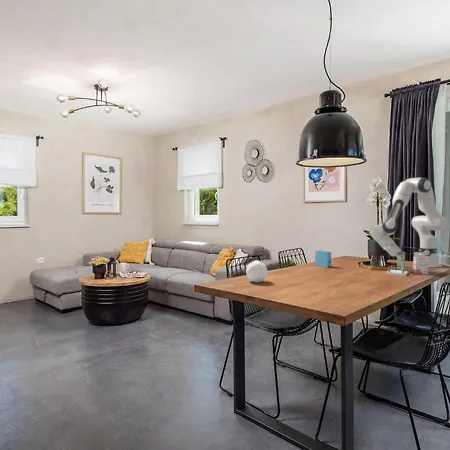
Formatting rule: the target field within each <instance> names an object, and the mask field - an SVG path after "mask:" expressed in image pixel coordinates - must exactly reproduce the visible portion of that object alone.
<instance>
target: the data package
mask: <svg viewBox="0 0 450 450" xmlns="http://www.w3.org/2000/svg"><path fill="white" fill-rule="evenodd" d="M314 255H315V256H314V257H315V259H314V265H315V266H316V267H321V268H322V267H323V268H330V267H331V266H332V252H331V251H329V250H321V249H319V250H316V251H315V254H314Z"/></svg>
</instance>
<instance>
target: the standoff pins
mask: <svg viewBox="0 0 450 450" xmlns="http://www.w3.org/2000/svg"><path fill="white" fill-rule="evenodd" d="M390 269H391V270H394V266H393V265H390V267H389V266H388V270H387V271H388V272H390ZM401 270H402V273H404V271H407V266H405V269H401Z"/></svg>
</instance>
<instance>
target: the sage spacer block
mask: <svg viewBox="0 0 450 450" xmlns="http://www.w3.org/2000/svg"><path fill="white" fill-rule="evenodd" d="M397 254H398V255H399V256H401V257H402V259H401V260H399V259H398V258H397V257H396V270H402V269H405V267H406V252H405V251H401V252H400V251H399V252H398V253H397Z"/></svg>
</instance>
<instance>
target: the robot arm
mask: <svg viewBox="0 0 450 450" xmlns="http://www.w3.org/2000/svg"><path fill="white" fill-rule="evenodd" d="M412 193H413V194H414V193H417V204H418V209H419V210H420V211H421V212H422V213H423V214H425V215H417V216H413V217H412V218H411V221H410V222H411V226H412V228H413V229H415V231H416V233H418V236H419V249H418V252H426V257H429V266H428V268H442V267H443V266H442V265H441V264H440V258H439V257H440V256H439V255H438V254H437V253H438V249H437V237H436V236H435V235H433V234H432V233H431V231H443V230H445V229H446V228H447V226H448V220H447V219H446V217H444V216H443V215H441V214H440V213H439V211H438V209H437V207H436V203H435V202H436V201H435V194H434V190H433V187H432V182H431V180H430V179H429V178H428V177H427V178H426V177H412V178H410V177H409V178H405V179H403V180H402V181H401V182H399V184H398V185H397V187H396V189H395V192H394V194H393V197H392V200H391V201H392V202H391V203H392V208H391V210H390V212H389V215H388V216H387V218H385V219H384V221H383V222H382V223H380V224H374V225H373V226H372V227H371V228H370V230H369V235H370V236H371V237H372V239H373V240H374V241H375V242H377V243H378V245H379V246H380V247H381V248H382V250H384V251H386V252H387V253H388V254H389V255H390V256H391V257H396V259H397V258H398V259H399V260H401V259H402V257H401V256H399V255H398V254H397V253H398V252H399V251H400V252H402V250H401V248H400V247H399V246H398V245H397V243H395V240H393V239H392V238H391V235H393V234H395V233H396V231H397V230H398V227H399V224H398V223H399V222H398V219H399V217H400V215H401V213H402V210H403V209H404V208H406V206H407V205H408V203H409V201H410V199H411V197H412ZM418 255H422V254H420V253H419V254H418Z"/></svg>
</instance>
